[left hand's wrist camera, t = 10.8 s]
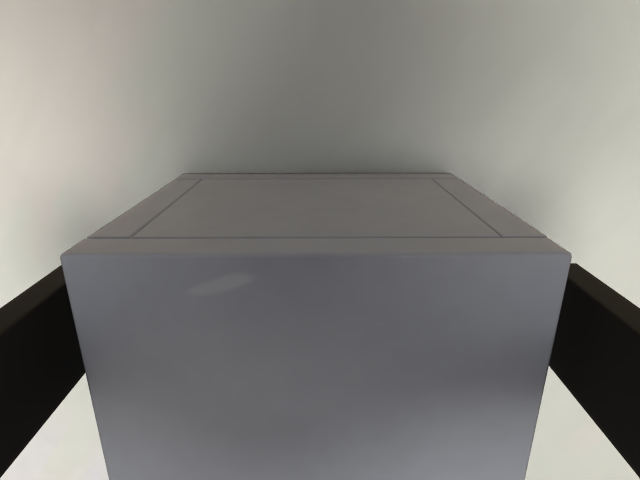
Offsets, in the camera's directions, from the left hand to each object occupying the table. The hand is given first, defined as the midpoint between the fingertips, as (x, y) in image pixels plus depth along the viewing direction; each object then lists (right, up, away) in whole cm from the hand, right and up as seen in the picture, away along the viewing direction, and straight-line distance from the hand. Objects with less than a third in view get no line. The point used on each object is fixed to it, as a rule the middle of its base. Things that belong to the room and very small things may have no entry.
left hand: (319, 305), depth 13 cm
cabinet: (0, -6, +8) cm, 10 cm away
